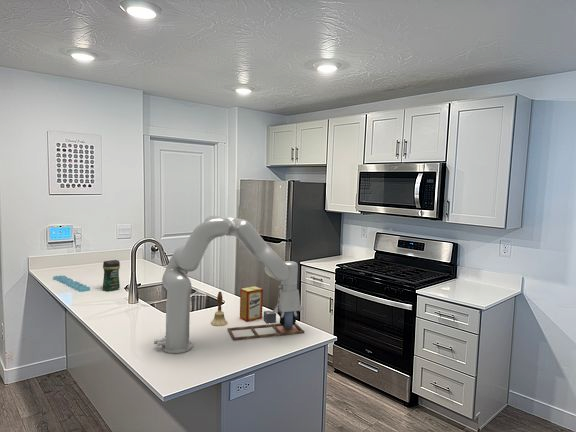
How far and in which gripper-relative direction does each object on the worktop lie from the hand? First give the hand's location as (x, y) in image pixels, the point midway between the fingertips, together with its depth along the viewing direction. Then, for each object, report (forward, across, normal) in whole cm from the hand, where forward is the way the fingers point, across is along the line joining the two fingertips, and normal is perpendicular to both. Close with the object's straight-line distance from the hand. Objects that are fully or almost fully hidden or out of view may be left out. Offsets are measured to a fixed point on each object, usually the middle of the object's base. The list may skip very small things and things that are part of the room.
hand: (287, 324), depth 194 cm
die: (+3, -5, +13) cm, 14 cm away
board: (+3, -11, 0) cm, 11 cm away
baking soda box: (+3, -13, +20) cm, 24 cm away
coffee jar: (+3, -84, +94) cm, 126 cm away
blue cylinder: (+1, 0, 0) cm, 1 cm away
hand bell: (+3, -30, +17) cm, 35 cm away
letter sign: (+4, -109, +112) cm, 157 cm away
